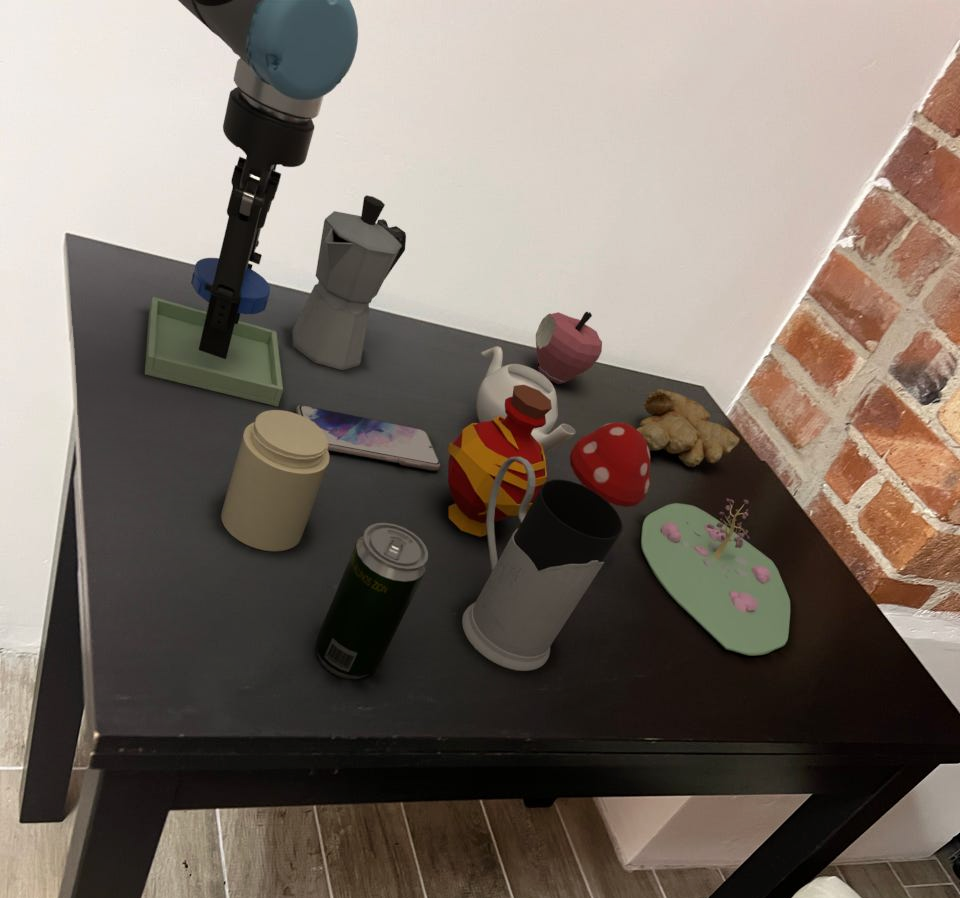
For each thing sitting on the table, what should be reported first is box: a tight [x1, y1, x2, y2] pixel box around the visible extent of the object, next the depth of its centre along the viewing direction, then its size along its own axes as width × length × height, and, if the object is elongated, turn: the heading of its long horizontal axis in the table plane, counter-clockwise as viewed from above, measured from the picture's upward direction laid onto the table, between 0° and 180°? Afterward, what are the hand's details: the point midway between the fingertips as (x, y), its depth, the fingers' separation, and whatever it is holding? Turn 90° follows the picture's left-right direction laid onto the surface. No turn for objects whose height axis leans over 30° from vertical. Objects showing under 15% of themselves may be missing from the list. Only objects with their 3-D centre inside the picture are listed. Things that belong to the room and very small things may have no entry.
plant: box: [640, 498, 791, 656], centre depth 103 cm, size 25×21×9 cm
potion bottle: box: [447, 385, 552, 538], centre depth 89 cm, size 10×10×15 cm
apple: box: [535, 311, 603, 385], centre depth 125 cm, size 10×9×10 cm
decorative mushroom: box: [569, 421, 651, 508], centre depth 93 cm, size 10×9×15 cm
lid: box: [190, 257, 271, 315], centre depth 90 cm, size 7×7×2 cm
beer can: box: [315, 522, 429, 680], centre depth 69 cm, size 5×5×12 cm
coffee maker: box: [291, 194, 407, 371], centre depth 103 cm, size 15×9×18 cm, turn 147°
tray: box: [144, 296, 284, 407], centre depth 95 cm, size 13×12×2 cm
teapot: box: [475, 345, 576, 456], centre depth 105 cm, size 10×20×9 cm, turn 26°
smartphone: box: [295, 404, 441, 472], centre depth 96 cm, size 7×1×15 cm
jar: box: [220, 409, 331, 552], centre depth 77 cm, size 7×7×10 cm
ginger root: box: [636, 388, 741, 468], centre depth 126 cm, size 16×16×8 cm
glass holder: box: [461, 457, 623, 672], centre depth 80 cm, size 9×14×15 cm, turn 32°
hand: (219, 334), depth 94 cm, fingers closed on lid, 7 cm apart
